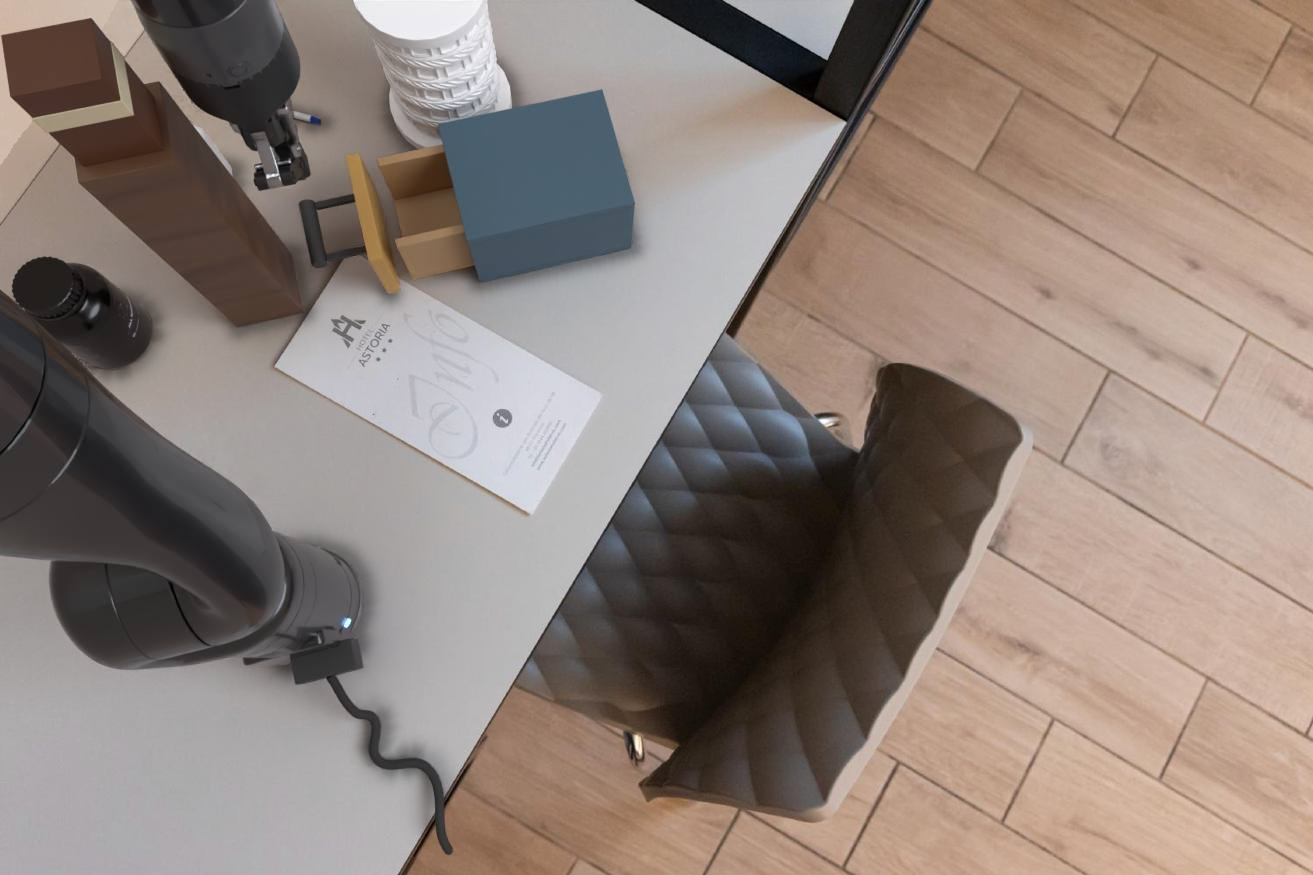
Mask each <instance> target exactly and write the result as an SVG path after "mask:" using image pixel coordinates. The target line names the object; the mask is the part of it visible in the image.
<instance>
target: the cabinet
mask: <svg viewBox="0 0 1313 875" xmlns="http://www.w3.org/2000/svg"><path fill="white" fill-rule="evenodd" d="M608 107H609V106H608V104H607V100H606V97H605V93H604V89H598V90H593V91H587V92H582V93H578V94H573V95H569V96H564V97H559V98H554V99H550V100H545V101H540V102H535V103H530V104H525V105H522V106H517V107H516V106H515V107H512V108H511V109H507V110H502V111H497V112H492V113H488V114H483V115H478V116H473V117H469V118H464V119H459V120H455V121H450V122H445V123H440V124H438V127H439V131H440V135H441V139H442V143H443V147H444V151H445V155H446V159H447V163H448V167H449V171H450V175H451V180H452V184H453V188H454V192H455V196H456V200H457V204H458V208H459V212H460V216H461V220H462V224H463V228H464V232H465V236H466V240H467V244H468V247H469V250H470V253H471V256H472V259H473V262H474V268H475V271H476V275H477V277H478V278H477V279H478V280H479V283H486V282H491V281H495V280H499V279H503V278H509V277H513V276H516V275H521V274H526V273H530V272H533V271H538V270H539V271H540V270H543V269H547V268H553V267H556V266H560V265H564V264H569V263H572V262H573V263H574V262H578V261H582V260H586V259H590V258H594V257H595V258H596V257H599V256H604V255H607V254H612V253H613V254H614V253H617V252H621V251H624V250H625V251H626V250H630V249H632V245H633V234H634V233H633V232H634V218H635V206H636V205H635V203H636V201H635V198H634V195H633V192H632V188H631V184H630V180H629V177H628V174H627V170H626V167H625V163H624V159H623V156H622V153H621V149H620V146H619V143H618V139H617V136H616V131H615V128H614V125H613V120H612V117H611V114H610V111H609V108H608Z"/></svg>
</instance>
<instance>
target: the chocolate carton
mask: <svg viewBox="0 0 1313 875" xmlns="http://www.w3.org/2000/svg"><path fill="white" fill-rule="evenodd" d="M0 38H1V44H2V52H3V57H4V65H5V70H6V77H7V78H6V79H7V84H8V92H9V97H10V98H11V99H12V100H13V101H14V102H15V103H16V104H17V105H18V106H19V107H20V108H21V109H22V110H23V111H25V113H27V114H28V115H29V116H30V117H31V121H33V122H35V123H36V125H37V126H38V127H40V128H41V129H42V130H43V131H44V132H45V133H47V134H49V135H50V137H52V138H53V140H55V141H56V142H57V143H58V144H59V145H60V146H61V147H62V148H64V149H65V151H67V152H68V153H69V154H70V155H71V156H72V157H73V159H74V158H75V159H76V160H77V161H78V162H79V163H81V164H82V165H83V166H84V167H85V166H90V165H94V164H99V163H104V162H109V161H114V160H118V159H123V158H128V157H133V156H138V155H143V154H147V153H152V152H157V151H162V150H163V144H162V139H161V133H160V128H159V122H158V117H157V111H156V106H155V100H154V96H153V94H152V93H151V92H150V91H149V89H148V88H147V87H146V86H145V84H146V83H145V82H143V81H142V79H141V78H140V77H139V75H138V74H137V73H136V72H135V70H133V68H132V67H131V65H130V64H129V63H128V62H127V60H126V59H125V57H124V55H123V54H122V52H121V51H120V49H119V48H117V46H116V45H115V44H114V42H113V41H112V40H110V39H109V38H108V37H107V35H106V34H105V32H104V31H103V30H102V29H101V28H100V26H99V25H98V24H97V23H96V21H95V20H94V19H93V18H92V17H89V18H84V19H83V18H82V19H78V20H73V21H68V22H63V23H57V24H52V25H47V26H41V27H37V28H31V29H26V30H21V31H16V32H9V33H5V34H1V35H0ZM75 159H74V160H75Z"/></svg>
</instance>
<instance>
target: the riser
mask: <svg viewBox="0 0 1313 875" xmlns="http://www.w3.org/2000/svg"><path fill="white" fill-rule="evenodd" d="M144 84H145V86H146V87H147V88H148V89H149V91H150V92H151V93H152V94H153V96H154V100H155V106H156V111H157V117H158V122H159V128H160V133H161V139H162V144H163V150H162V151H157V152H152V153H147V154H143V155H138V156H133V157H128V158H123V159H118V160H114V161H109V162H104V163H99V164H94V165H90V166H85V167H84V166H83V165H82V164H81V163H79V162H78V161H77V160H76V159H75V158H74V157H73V159H74V165H75V172H76V176H77V183H78V184H79V185H80V186H81V187H82V188H83V189H84V190H86V191H87V192H88V193H89V194H90V195H91V196H92V197H93V198H94V199H95V200H97V201H98V203H100V204H101V205H102V206H103V207H104V208H106V209H107V211H108V212H110V213H111V214H112V215H113V216H114V217H115V218H117V220H119V221H120V222H121V223H122V224H123V225H124V226H125V227H126V228H128V230H130V231H131V232H132V233H133V234H134V235H135V236H136V237H137V238H139V239H140V240H141V241H142V242H143V243H144V244H145V245H146V246H147V247H149V248H150V250H151V251H153V252H154V253H155V254H156V255H157V256H158V257H159V258H161V259H162V260H163V261H164V262H165V263H166V264H167V265H168V266H169V267H170V268H172V269H173V271H175V272H176V273H177V274H178V275H179V276H180V277H182V278H183V279H184V280H185V281H186V282H187V283H188V284H189V285H190V286H191V287H192V288H194V289H195V290H196V291H197V292H198V293H199V294H200V295H201V296H203V298H204V299H206V300H207V301H208V302H209V303H210V304H211V305H212V306H213V307H215V309H216V310H218V311H219V312H220V313H221V314H222V315H223V316H225V318H226V319H228V320H229V321H230V322H231V324H233V325H234V326H235V327H237V328H238V329H239V328H242V327H243V328H244V327H247V326H252V325H256V324H261V323H265V322H269V321H273V320H277V319H278V320H279V319H282V318H286V317H291V316H295V315H300V314H303V313H304V307H303V301H302V297H301V292H300V288H299V282H298V278H297V273H296V268H295V263H294V259H293V254H292V252H291V251H290V249H289V248H288V247H287V245H286V244H285V243H284V242H283V240H282V239H281V238H280V236H279V235H278V234H277V232H275V230H274V229H273V227H272V226H271V225H270V224H269V222H268V221H267V219H266V218H265V217H264V216H263V214H262V213H261V212H260V211H259V209H258V208H257V206H256V205H255V204H254V202H252V200H251V199H250V197H249V196H248V195H247V194H246V192H245V191H244V189H243V188H242V187H241V186H240V184H239V183H238V181H237V180H236V179H235V178H234V176H233V177H232V175H231V174H230V173H229V171H228V170H227V169H226V167H225V166H224V165H223V164H222V162H221V161H220V160H219V158H218V157H217V156H216V154H215V153H214V152H213V151H212V149H211V148H210V147H209V145H208V144H207V143H206V141H205V140H204V139H203V137H202V136H201V135H200V134H199V132H198V131H197V130H196V128H195V127H194V126H193V125H194V124H193V123H192V122H191V121H190V119H189V118H188V117H187V115H186V114H185V113H184V111H183V110H182V109H181V108H180V106H179V105H178V104H177V102H176V101H175V100H174V98H173V97H172V95H171V94H170V93H169V92H168V91H167V89H166V88H165V86H164V85H163V84H162V83H161V81H159V80H157V81H153V82H149V83H144Z"/></svg>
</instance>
